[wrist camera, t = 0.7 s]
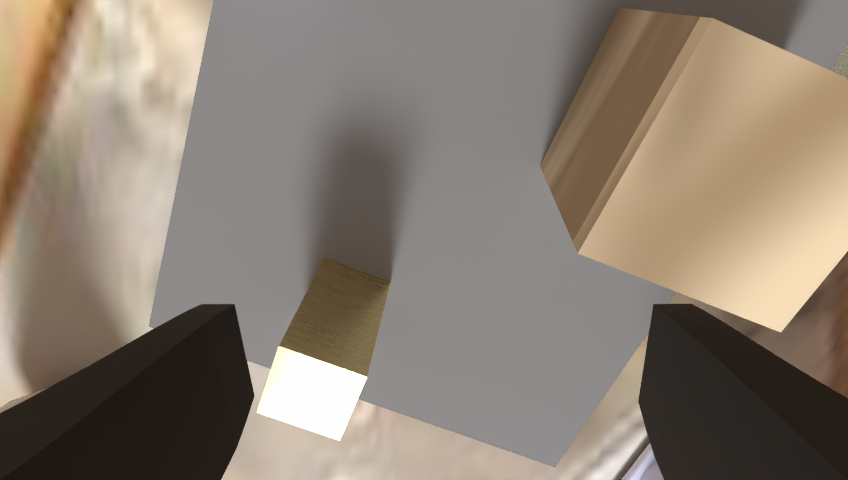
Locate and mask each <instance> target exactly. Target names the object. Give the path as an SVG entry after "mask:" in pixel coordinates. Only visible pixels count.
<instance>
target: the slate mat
mask: <svg viewBox="0 0 848 480" xmlns="http://www.w3.org/2000/svg"><path fill="white" fill-rule="evenodd" d="M619 8H627V9H636V10H645V11H653V12H662V13H671V14H680V15H689V16H698V17H707V18H714V19H716V20H718V21H721V22H723V23H725V24H727V25H730V26H732V27H734V28H736V29H739V30H741V31H743V32H745V33H748V34H750V35H752V36H754V37H756V38H759V39H761V40H763V41H765V42H768V43H770V44H772V45H774V46H777V47H779V48H781V49H783V50H786V51H788V52H790V53H792V54H794V55H797V56H799V57H801V58H803V59H806V60H808V61H810V62H812V63H815V64H817V65H819V66H821V67H824V68H826V69H828V70H830V69H831V67H832V66H833V64H834V63H835V62H836V60H837V59H838V57H839V56H840V54H841V53H842V51H843V50H844V49H845V47H846V46H847V44H848V0H214V2H213V7H212V12H211V17H210V22H209V27H208V32H207V37H206V42H205V47H204V52H203V57H202V62H201V67H200V72H199V77H198V82H197V87H196V92H195V97H194V102H193V107H192V112H191V117H190V122H189V127H188V132H187V138H186V143H185V148H184V153H183V158H182V163H181V168H180V173H179V178H178V183H177V188H176V193H175V198H174V203H173V208H172V213H171V218H170V223H169V228H168V233H167V238H166V243H165V248H164V253H163V258H162V263H161V268H160V273H159V279H158V284H157V289H156V294H155V299H154V304H153V309H152V314H151V319H150V324H149V327H152V328H156V327H158V326H160V325H162V324H163V323H165V322H167V321H169V320H171V319H172V318H174V317H176V316H178V315H180V314H182V313H184V312H186V311H188V310H190V309H192V308H194V307H196V306H198V305H201V304H235V308H236V313H237V317H238V322H239V327H240V331H241V336H242V341H243V345H244V350H245V355H246V359H247V361H250V362H253V363H256V364H259V365H262V366H265V367H267V368H270V369H271V368H272V365H273V362H274V359H275V355H276V352H277V349H278V346H279V344H280V342H281V340H282V339H283V337H284V335H285V333H286V331H287V329H288V327H289V325H290V323H291V321H292V319H293V317H294V315H295V313H296V312H297V310H298V308H299V306H300V304H301V302H302V300H303V298H304V296H305V294H306V292H307V290H308V288H309V287H310V285H311V283H312V281H313V279H314V277H315V275H316V273H317V271H318V269H319V267H320V265H321V263H322V261H323V260H324V258H328V259H330V260H333V261H336V262H339V263H341V264H344V265H347V266H349V267H352V268H355V269H357V270H360V271H363V272H366V273H368V274H371V275H374V276H376V277H379V278H382V279H384V280H387V281H390V282H391V283H390V287H389V291H388V295H387V299H386V303H385V307H384V311H383V315H382V319H381V323H380V327H379V331H378V335H377V339H376V343H375V347H374V351H373V355H372V359H371V363H370V367H369V371H368V375H367V378H366V381H365V383H364V385H363V388H362V390H361V392H360V394H359V397H358V399H360V400H363V401H366V402H368V403H371V404H374V405H377V406H380V407H383V408H386V409H389V410H392V411H394V412H397V413H400V414H403V415H406V416H409V417H412V418H415V419H418V420H420V421H423V422H426V423H429V424H432V425H435V426H438V427H441V428H444V429H446V430H449V431H452V432H455V433H458V434H461V435H464V436H467V437H470V438H472V439H475V440H478V441H481V442H484V443H487V444H490V445H493V446H496V447H498V448H501V449H504V450H507V451H510V452H513V453H516V454H519V455H521V456H524V457H527V458H530V459H533V460H536V461H539V462H542V463H545V464H547V465H550V466H553V467H556V465H557V464H558V462H559V461H560V460H561V458H562V457H563V455H564V454H565V452H566V451H567V449H568V448H569V447H570V445H571V444H572V442H573V441H574V439H575V438H576V436H577V435H578V434H579V432H580V431H581V429H582V428H583V426H584V425H585V423H586V422H587V421H588V419H589V418H590V416H591V415H592V413H593V412H594V410H595V409H596V407H597V406H598V405H599V403H600V402H601V400H602V399H603V397H604V396H605V394H606V393H607V392H608V390H609V389H610V387H611V386H612V384H613V383H614V381H615V380H616V379H617V377H618V376H619V374H620V373H621V371H622V370H623V368H624V367H625V366H626V364H627V363H628V361H629V360H630V358H631V357H632V355H633V354H634V352H635V351H636V350H637V348H638V347H639V345H640V344H641V342H642V341H643V339H644V338H645V337H646V335H647V334H648V332H649V329H650V323H651V316H652V310H653V304H668V303H669V302H670V300H671V299H672V297H673V296H674V295H675V293H676V292H675V291H673V290H670V289H668V288H665V287H663V286H660V285H657V284H655V283H652V282H650V281H647V280H645V279H642V278H640V277H637V276H634V275H632V274H629V273H627V272H624V271H622V270H619V269H616V268H614V267H611V266H609V265H606V264H604V263H601V262H598V261H596V260H593V259H591V258H588V257H586V256H583V255H580V254H578V253H577V251H576V248H575V246H574V244H573V241H572V239H571V237H570V235H569V232H568V230H567V228H566V225H565V223H564V221H563V218H562V216H561V214H560V212H559V209H558V207H557V205H556V202H555V200H554V198H553V195H552V193H551V191H550V189H549V186H548V184H547V182H546V179H545V177H544V175H543V172H542V170H541V168H540V165H541V163H542V161H543V159H544V157H545V155H546V153H547V151H548V149H549V147H550V145H551V143H552V141H553V139H554V137H555V135H556V133H557V131H558V129H559V127H560V125H561V123H562V121H563V119H564V117H565V115H566V113H567V111H568V109H569V107H570V105H571V103H572V101H573V99H574V97H575V95H576V93H577V91H578V89H579V87H580V85H581V83H582V81H583V79H584V77H585V75H586V73H587V71H588V69H589V67H590V65H591V63H592V61H593V59H594V57H595V55H596V53H597V51H598V49H599V47H600V45H601V43H602V41H603V39H604V37H605V35H606V33H607V31H608V29H609V27H610V25H611V23H612V21H613V19H614V17H615V15H616V13H617V11H618V9H619Z"/></svg>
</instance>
